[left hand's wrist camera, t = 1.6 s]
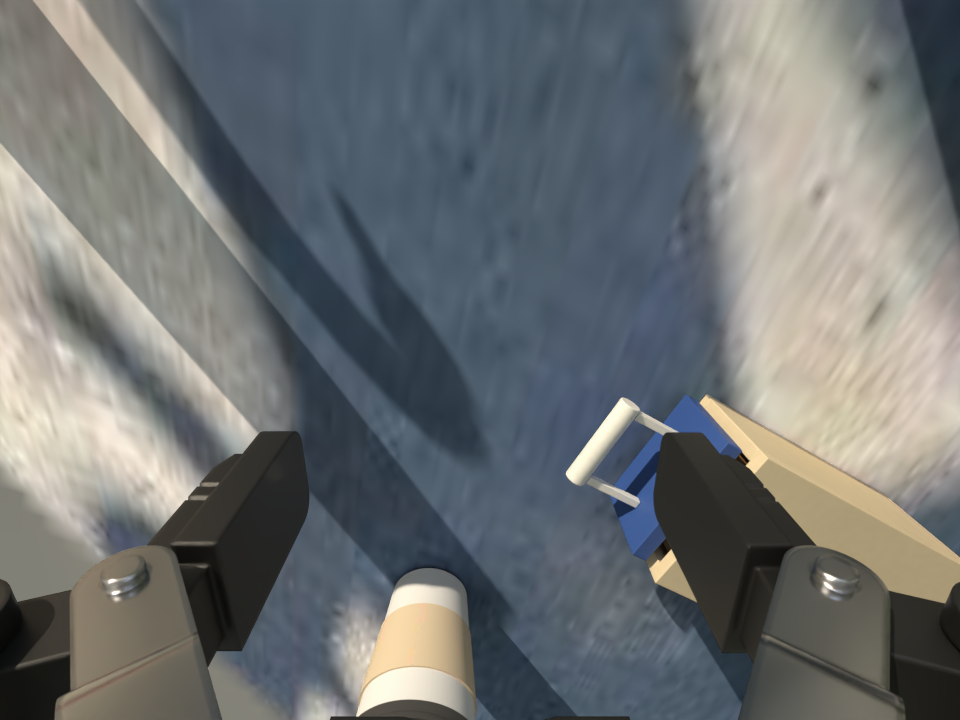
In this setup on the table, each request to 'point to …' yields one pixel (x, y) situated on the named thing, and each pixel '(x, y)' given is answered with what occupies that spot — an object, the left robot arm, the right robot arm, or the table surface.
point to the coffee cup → (422, 653)
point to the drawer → (644, 466)
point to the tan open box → (830, 515)
